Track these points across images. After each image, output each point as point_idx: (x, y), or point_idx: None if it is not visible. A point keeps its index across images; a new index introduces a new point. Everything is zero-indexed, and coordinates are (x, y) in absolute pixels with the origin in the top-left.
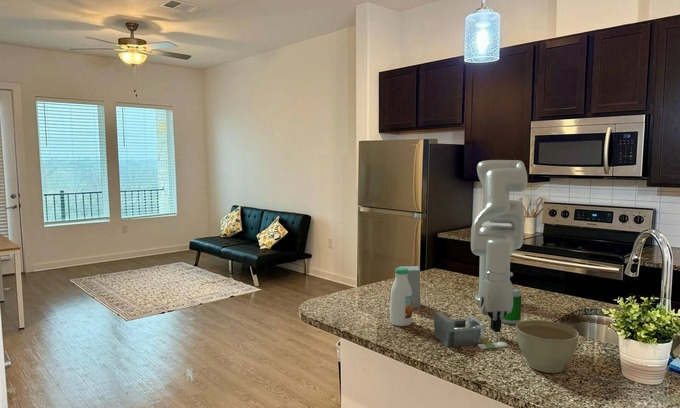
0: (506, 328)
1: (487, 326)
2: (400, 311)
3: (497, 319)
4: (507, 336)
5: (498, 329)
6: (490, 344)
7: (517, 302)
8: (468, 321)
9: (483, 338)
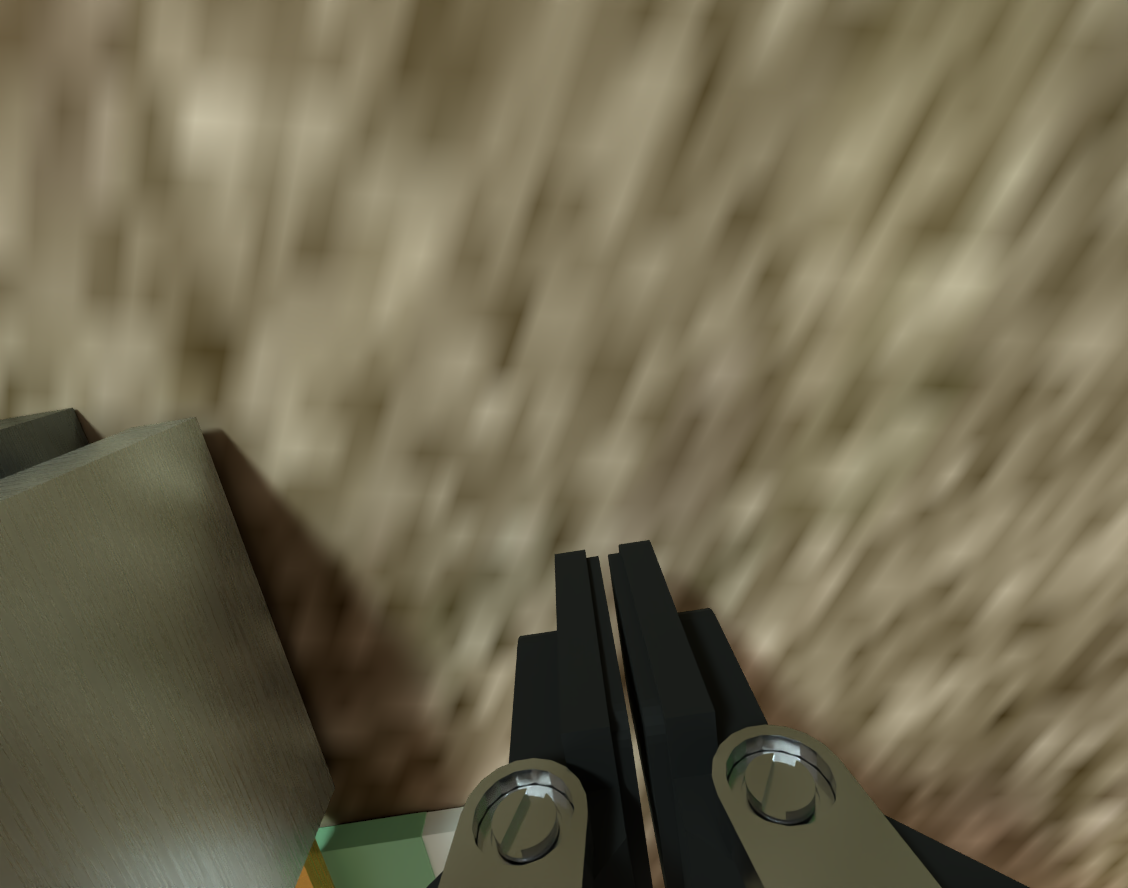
0: (990, 191)
1: (665, 36)
2: None
3: (682, 851)
4: (789, 559)
5: (634, 728)
6: (395, 879)
7: None
8: None
9: (307, 845)
